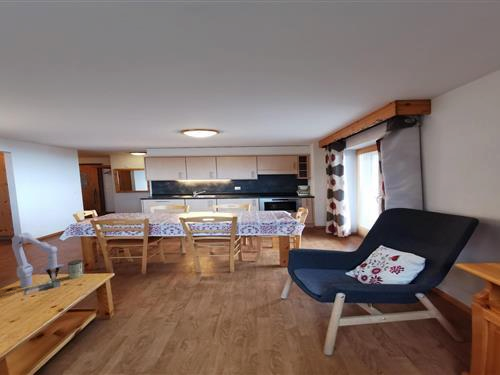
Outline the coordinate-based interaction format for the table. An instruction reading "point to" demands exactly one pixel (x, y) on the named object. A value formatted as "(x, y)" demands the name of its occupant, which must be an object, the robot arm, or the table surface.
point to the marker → (53, 275)
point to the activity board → (39, 288)
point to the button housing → (49, 286)
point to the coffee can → (75, 269)
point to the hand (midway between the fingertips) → (53, 277)
